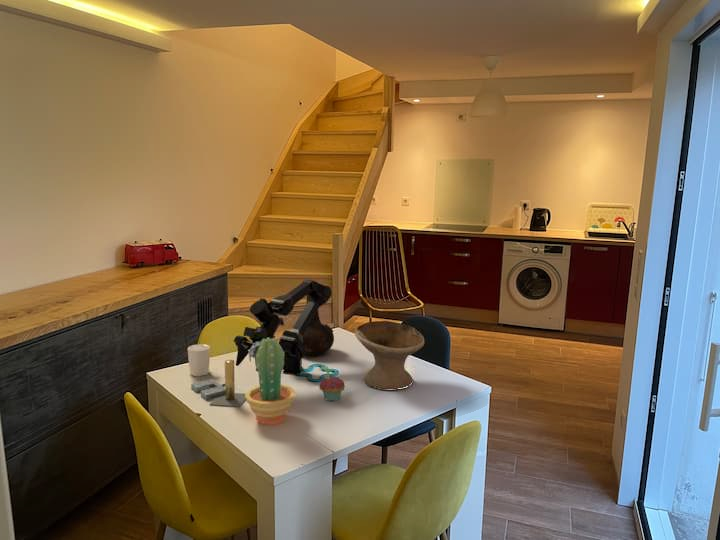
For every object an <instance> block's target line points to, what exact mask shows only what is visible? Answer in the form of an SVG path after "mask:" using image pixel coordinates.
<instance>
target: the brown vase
mask: <svg viewBox="0 0 720 540" xmlns="http://www.w3.org/2000/svg"><path fill="white" fill-rule="evenodd" d="M308 301H309V297H308V295H306V303H305V305H306V304H307V303H308ZM334 342H335V335H334V330H333V328H331V327H330V326H329V325H328V324H324V323H322V322H321V319H320V314H319V309H318V310H317V312H316V314H315V316H314V317H313V319H312V321H311V323H310V324H309V326H308V328H307V330H306V331H305V333H304V335H303V345H302V346H303V347H304V348H305V350H306V355H305V356H311V357H313V356H316V357H317V356H321V355H323V354H325V353H327V352H329V350H330V349H331V348H332V347H333V345H334Z"/></svg>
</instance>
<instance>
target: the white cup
mask: <svg viewBox="0 0 720 540" xmlns="http://www.w3.org/2000/svg"><path fill="white" fill-rule="evenodd" d="M210 347H211V346H210V345H208V344H192V345H190V346H188V347H187V357H188V365H189V374H190V375H191V376H195V377H203V376H206V375H208V374H209V373H210V371H209V370H210V354H211V353H210V351H211V350H210V349H211V348H210ZM202 375H203V376H202Z"/></svg>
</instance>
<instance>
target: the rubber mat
mask: <svg viewBox="0 0 720 540" xmlns="http://www.w3.org/2000/svg"><path fill="white" fill-rule="evenodd" d="M245 394H246V393H241V392H240V393H239V392H235V399H234V400H231V401H228V400H226V399H225V394H224V395H220V396H217V397H216V398H213V399H212V401H211V402H209V406H215V407H216V406H218V407H229V408H240V407H242V405H243V404H244V403H245V402H246V399H245Z"/></svg>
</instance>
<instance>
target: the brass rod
mask: <svg viewBox="0 0 720 540" xmlns="http://www.w3.org/2000/svg"><path fill="white" fill-rule="evenodd" d="M235 381H236V380H235V360H234V359H226V360H224V384H225V399H226V400H228V401H231V400H234V399H235V393H236V391H235V389H236V388H235V387H236V386H235V385H236V384H235Z"/></svg>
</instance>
